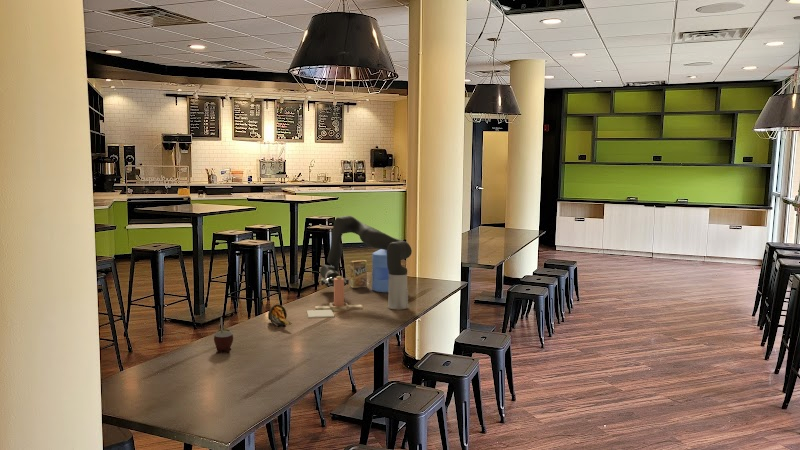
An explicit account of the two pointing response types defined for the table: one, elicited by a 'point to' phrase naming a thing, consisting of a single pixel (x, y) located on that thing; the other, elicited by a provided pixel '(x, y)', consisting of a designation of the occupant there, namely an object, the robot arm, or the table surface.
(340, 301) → the salmon block with knob
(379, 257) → the water jug
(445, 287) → the table surface
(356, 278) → the candy box
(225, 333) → the mate gourd
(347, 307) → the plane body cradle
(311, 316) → the felt pad
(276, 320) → the fried shrimp in bowl
